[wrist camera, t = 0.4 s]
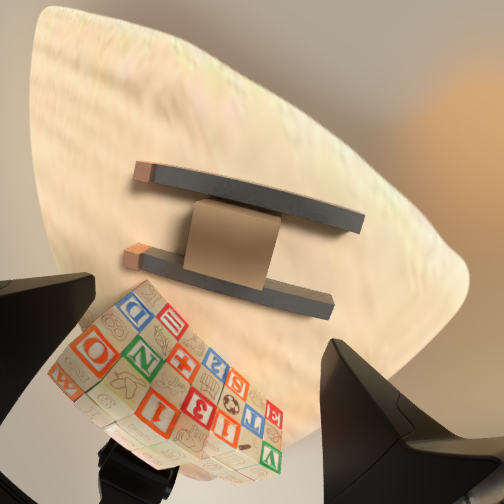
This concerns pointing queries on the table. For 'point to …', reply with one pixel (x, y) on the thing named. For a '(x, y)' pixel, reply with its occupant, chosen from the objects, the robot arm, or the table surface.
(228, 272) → the walnut block
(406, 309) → the table surface
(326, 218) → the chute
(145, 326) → the stack of blocks
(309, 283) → the table surface
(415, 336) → the table surface
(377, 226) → the table surface
